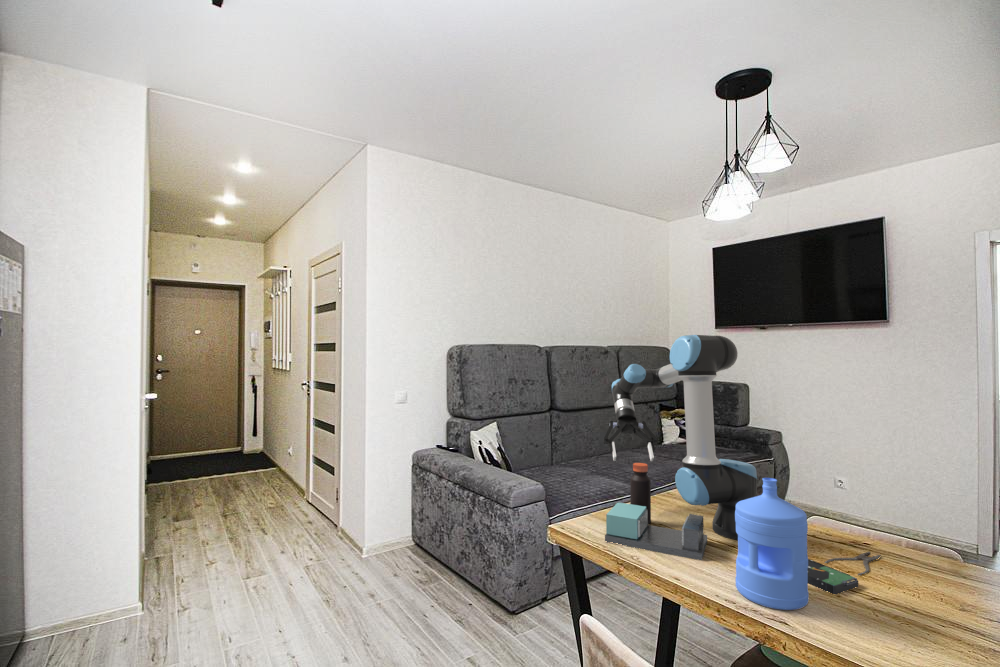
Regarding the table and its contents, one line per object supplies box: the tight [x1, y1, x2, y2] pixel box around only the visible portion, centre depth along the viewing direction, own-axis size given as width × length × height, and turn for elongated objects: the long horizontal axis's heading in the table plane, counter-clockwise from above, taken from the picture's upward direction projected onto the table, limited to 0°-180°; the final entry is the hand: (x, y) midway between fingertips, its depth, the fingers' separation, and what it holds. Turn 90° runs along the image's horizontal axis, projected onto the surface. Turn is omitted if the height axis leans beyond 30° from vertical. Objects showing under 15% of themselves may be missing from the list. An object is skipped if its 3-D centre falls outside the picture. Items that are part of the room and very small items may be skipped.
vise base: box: [604, 513, 708, 561], centre depth 153 cm, size 28×16×8 cm, turn 62°
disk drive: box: [808, 558, 859, 595], centre depth 129 cm, size 10×3×15 cm
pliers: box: [824, 551, 882, 576], centre depth 140 cm, size 10×1×20 cm
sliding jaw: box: [605, 501, 648, 539], centre depth 158 cm, size 10×14×6 cm
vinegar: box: [629, 462, 652, 525], centre depth 171 cm, size 7×7×20 cm
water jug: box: [735, 477, 810, 611], centre depth 121 cm, size 16×16×28 cm
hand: (633, 459), depth 181 cm, fingers open, 13 cm apart
